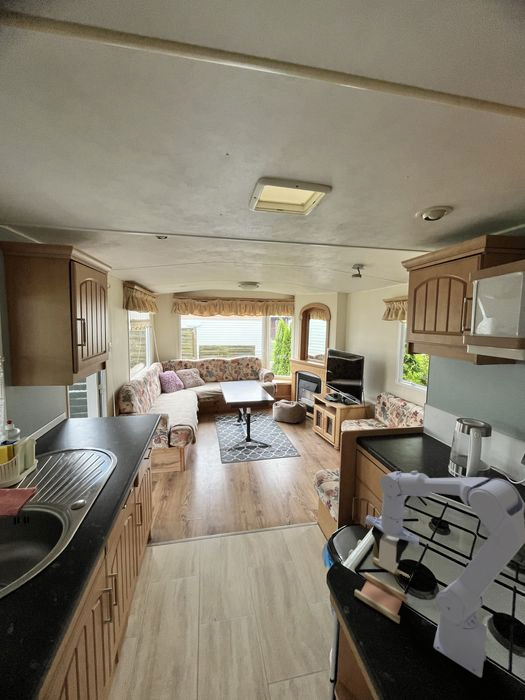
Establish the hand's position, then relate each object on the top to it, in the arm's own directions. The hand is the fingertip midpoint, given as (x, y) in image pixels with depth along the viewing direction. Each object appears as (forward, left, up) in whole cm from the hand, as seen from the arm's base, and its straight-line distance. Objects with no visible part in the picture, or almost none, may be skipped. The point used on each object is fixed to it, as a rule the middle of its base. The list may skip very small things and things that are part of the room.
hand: (389, 556), depth 87 cm
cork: (+5, -12, -10) cm, 16 cm away
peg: (0, 0, -3) cm, 3 cm away
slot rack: (0, +1, -9) cm, 10 cm away
